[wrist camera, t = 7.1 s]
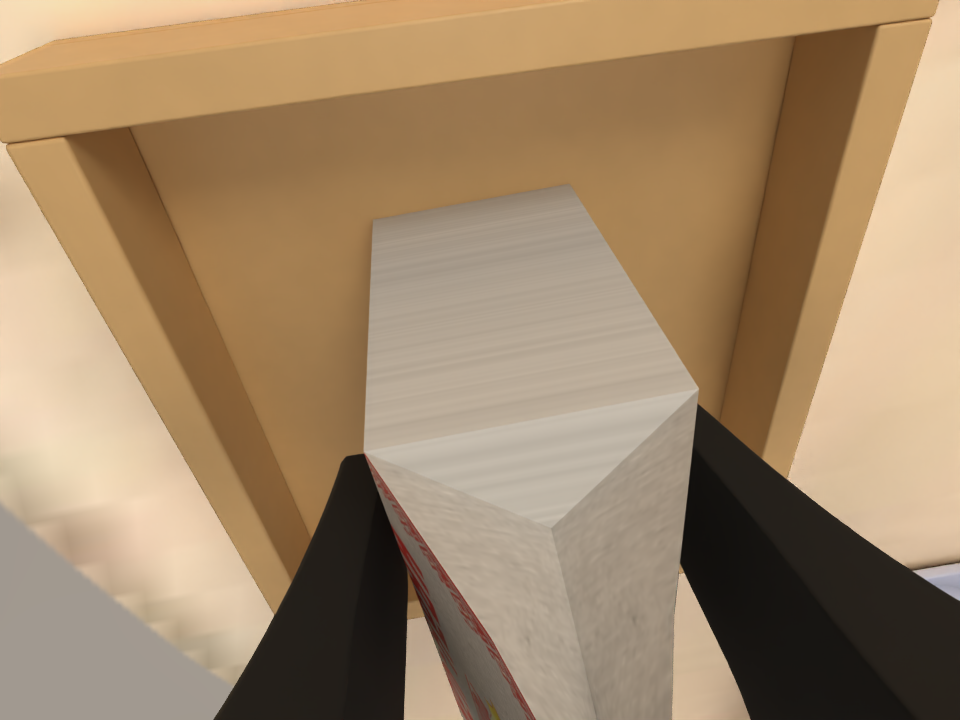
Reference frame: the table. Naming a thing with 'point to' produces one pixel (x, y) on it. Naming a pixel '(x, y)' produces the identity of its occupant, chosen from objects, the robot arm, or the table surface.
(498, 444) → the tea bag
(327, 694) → the robot arm
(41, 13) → the table surface
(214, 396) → the tray
